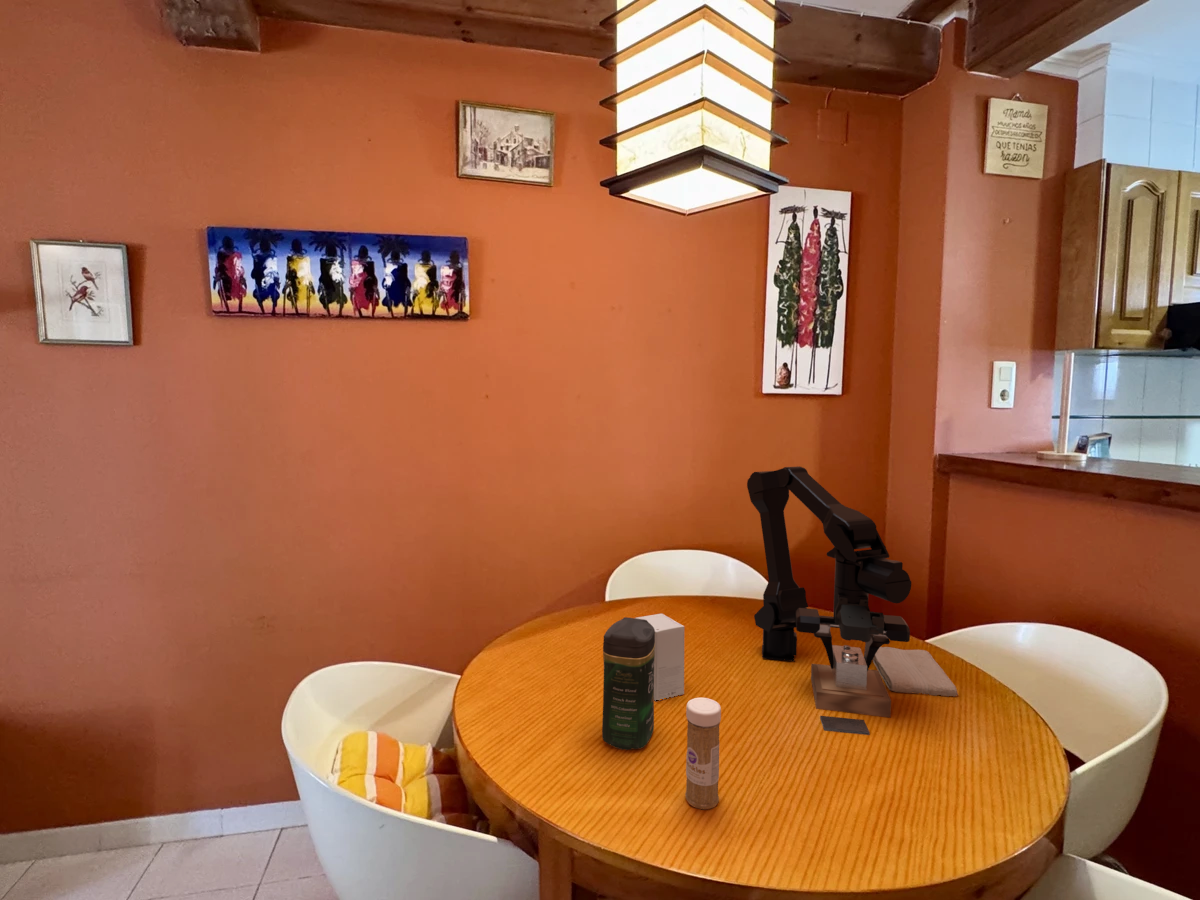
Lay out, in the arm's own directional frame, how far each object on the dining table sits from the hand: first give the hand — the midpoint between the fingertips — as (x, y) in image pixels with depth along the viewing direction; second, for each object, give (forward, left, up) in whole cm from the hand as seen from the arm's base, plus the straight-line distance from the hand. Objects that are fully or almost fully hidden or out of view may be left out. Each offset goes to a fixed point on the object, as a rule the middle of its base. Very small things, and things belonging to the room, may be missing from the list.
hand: (848, 669), depth 110 cm
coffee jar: (-36, -23, -5) cm, 43 cm away
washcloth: (+13, +13, -6) cm, 19 cm away
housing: (0, 0, -2) cm, 2 cm away
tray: (0, 0, -5) cm, 5 cm away
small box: (-34, -6, -5) cm, 35 cm away
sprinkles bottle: (-23, -36, -5) cm, 43 cm away
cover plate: (-2, -11, -6) cm, 13 cm away
